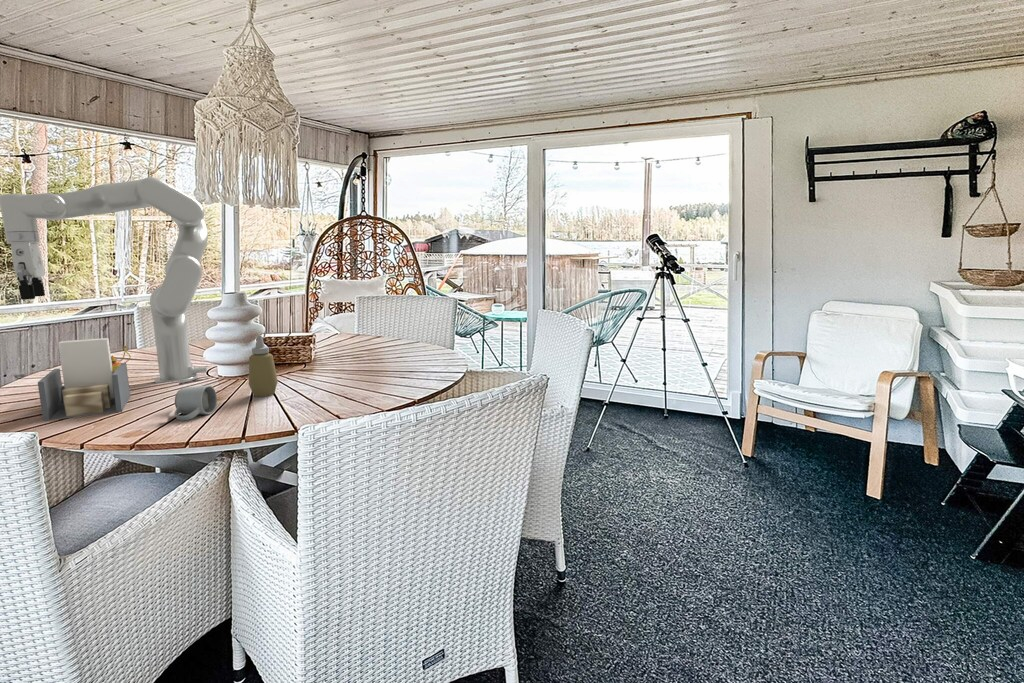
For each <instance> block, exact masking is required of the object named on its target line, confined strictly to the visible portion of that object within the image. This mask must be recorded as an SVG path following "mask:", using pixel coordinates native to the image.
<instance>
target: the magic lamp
mask: <svg viewBox="0 0 1024 683" xmlns="http://www.w3.org/2000/svg"><path fill="white" fill-rule="evenodd" d="M122 348H123V351H124V352H123V356H122V357H121V359H117V358H116V357H115V356H114V355H111V361H112V369H113V373H114V372H115V371H116V369H117V368H118V367H119V365H120V364H121V363H122V361H123V360H124V359H125V355H126V354H127V355H128V356H129V357H128V359H127V360H125V361H124V362H123V363H126V364H127V362H128V361H130V360H131V358H132V357H131V354H130V353H129V352H128V350H127V349H128V345H127V344H125V345H123V346H122Z"/></svg>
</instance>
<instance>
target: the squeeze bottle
mask: <svg viewBox="0 0 1024 683" xmlns="http://www.w3.org/2000/svg"><path fill="white" fill-rule="evenodd" d="M269 352H270V348H269V346H267V345H265V342H264V338H263V337H262V335H261V334H257V335H256V341H255V346H254V347H251V353H252V354H251V355H249V357H248V386H249V388H250V390H251V392H252V395H253V396H255V397H262V398H263V397H269V396H273V395H275V393H276V388H277V386H278V380H279V379H278V376H277V370H276V366H275V361H274V356H273V354H272V353H269Z"/></svg>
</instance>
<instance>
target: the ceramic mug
mask: <svg viewBox="0 0 1024 683" xmlns="http://www.w3.org/2000/svg"><path fill="white" fill-rule="evenodd" d="M217 404H218V399H217V393H216V390H215V388H214V387H213V386H211V385H199V386H187V387H183V388H180V389H179V390H178V391H177V392H176V394H175V396H174V406H175V411H174V415H175V418H176V419H177V420H179V421H180V422H181V421H184V422H185V421H186V422H187V421H190V420H192V419H193V418H195V417H197V416H198V415H201V416H203V415H206V416H207V415H211V414H213V413H214V411H215V410H216V407H217ZM180 414H183V415H180Z"/></svg>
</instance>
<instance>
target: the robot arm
mask: <svg viewBox="0 0 1024 683" xmlns="http://www.w3.org/2000/svg"><path fill="white" fill-rule="evenodd" d="M145 208H146V209H147V208H155V209H156V210H158V211H160V212H161V213H163V214H166V216H169V217H171V220H172V221H173V222H174V223H175V224H176V226H177V228H178V236H177V238H176V242H175V244H174V246H173V250H172V252H171V254H170V256H169V258H168V259H167V262H166V264H165V266H164V271H165V272H164V273H165V275H164V276H165V277H164V280H163V281H162V283H161V285H160V286H158V287H156V288H155V289H154V290H153V291H152V292H151V295H150V297H149V306H150V311H151V312H150V313H151V317H152V323H153V328H154V329H153V331H154V339H155V348H156V357H157V364H158V373H159V376H157V377H155V378H154V383H155V384H164V383H174V382H179V384H184V383H188V382H193V381H195V380H196V379H198V374H204V373H208V372H207V371H208V370H207V366H197V367H196V366H193V365H194V364H193V363H192V361H191V352H190V342H189V334H188V333H189V332H188V323H187V317H186V312H187V311H188V309H189V308H190V305H191V304H192V301H193V299H194V296H195V294H196V292H197V290H198V287H199V285H200V283H201V280H202V276H203V266H202V264H201V260H202V258H203V256H204V252H205V250H206V248H207V243H208V238H209V234H208V226H207V225H206V222H205V220H204V218H205V209H204V207H203V206H202V204H201V203H200V202H199V201H198V200H196V199H194V198H193V197H192V196H190V195H188V194H186V193H184V192H182V191H181V190H179V189H177V188H176V187H173V186H172V185H170V184H168V183H167V182H165V181H163V180H161V179H159V178H157V177H154V176H152V177H151V176H149V177H144V178H143V179H136V180H128V181H120V182H113V183H112V182H111V183H104V184H98V185H94V186H91V187H89V188H88V187H87V188H86V189H80V190H76V191H69V192H61V193H52V192H43V193H36V194H24V193H5V194H4V193H3V194H1V195H0V212H1V217H2V218H1V219H2V225H3V229H4V235H5V236H4V237H5V239H6V244H7V245H10V247H11V248H10V249H11V257H12V264H13V269H14V274H15V277H16V279H17V286H18V291H19V296H20V299H21V301H23V300H24V301H25V300H35V299H36V297H44V296H46V292H45V286H44V281H43V277H44V276H45V275H46V270H45V266H44V263H43V262H44V261H43V258H42V254H41V250H40V247H39V244H41V241H40V235H39V229H38V223H37V219H43V220H48V221H59V220H65V219H71V218H77V217H83V216H91V215H106V214H113V213H119V212H120V213H121V212H124V211H132V210H139V209H145Z"/></svg>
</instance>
